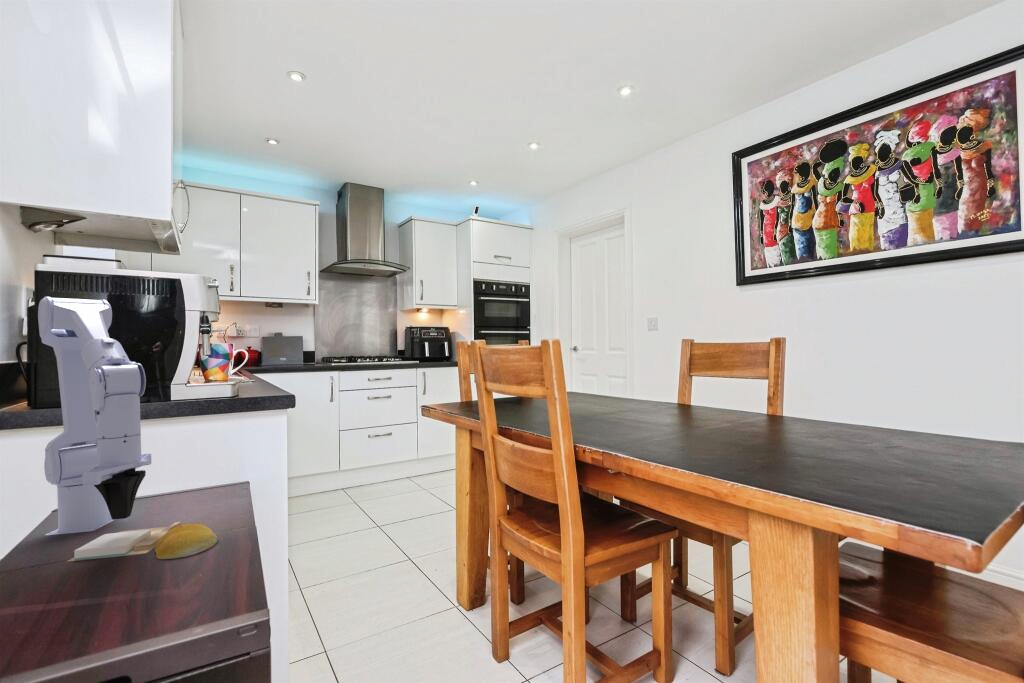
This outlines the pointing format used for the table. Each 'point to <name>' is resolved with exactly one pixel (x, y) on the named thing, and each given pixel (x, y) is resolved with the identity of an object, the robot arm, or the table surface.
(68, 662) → the table surface
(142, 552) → the board
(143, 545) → the spatula
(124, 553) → the tile
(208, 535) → the bread roll
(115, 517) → the robot arm
